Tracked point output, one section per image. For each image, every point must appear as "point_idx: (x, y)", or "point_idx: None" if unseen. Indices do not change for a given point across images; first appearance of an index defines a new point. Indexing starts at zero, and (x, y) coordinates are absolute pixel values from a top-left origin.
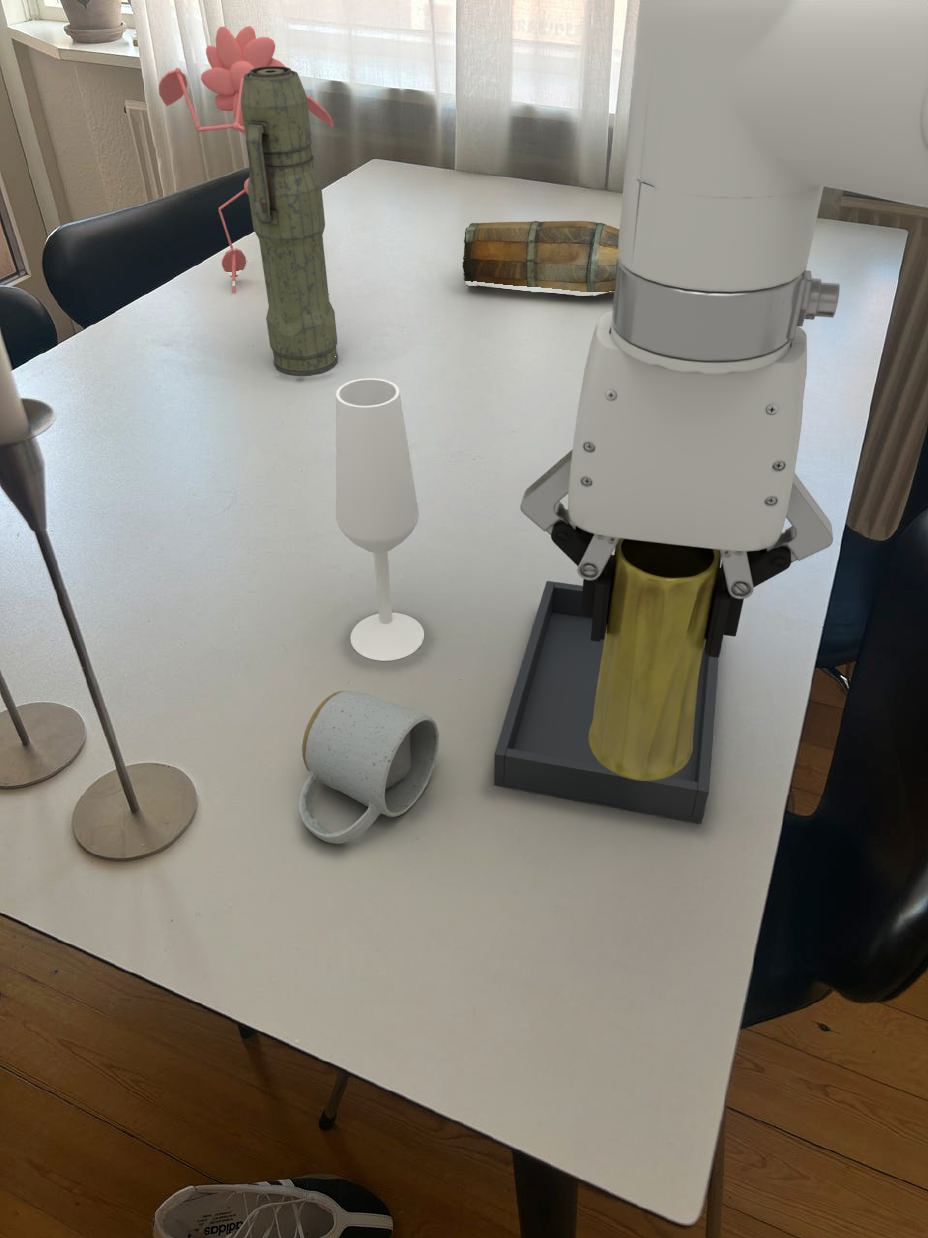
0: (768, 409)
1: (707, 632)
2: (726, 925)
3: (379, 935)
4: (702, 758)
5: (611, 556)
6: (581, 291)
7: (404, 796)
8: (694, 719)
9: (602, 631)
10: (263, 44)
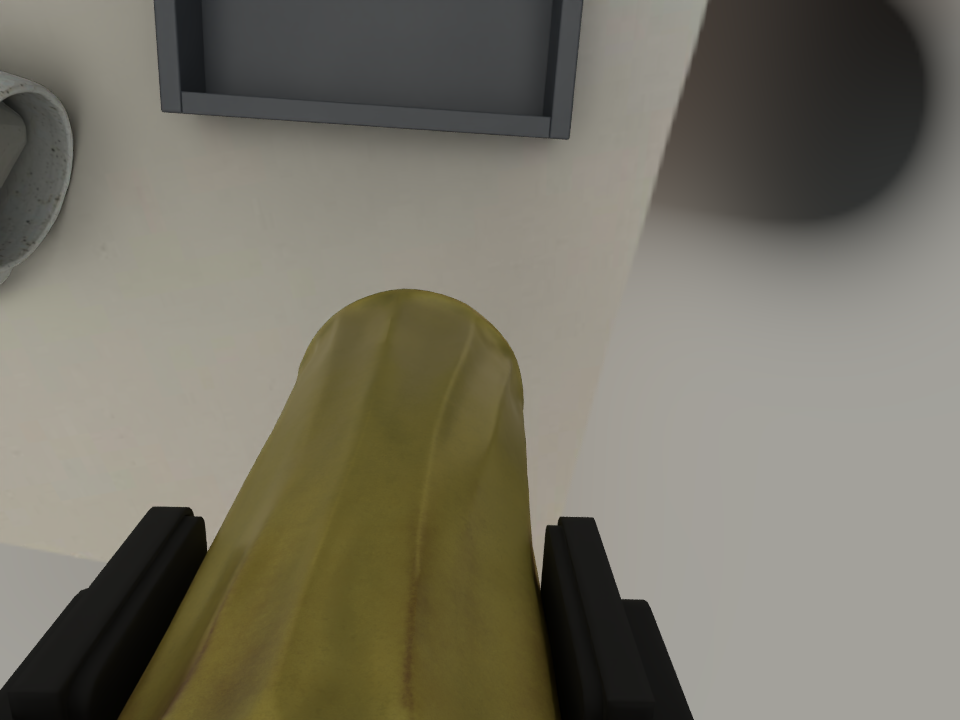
0: None
1: None
2: (584, 317)
3: (114, 416)
4: (561, 51)
5: (72, 717)
6: None
7: (45, 172)
8: (523, 420)
9: None
10: None
